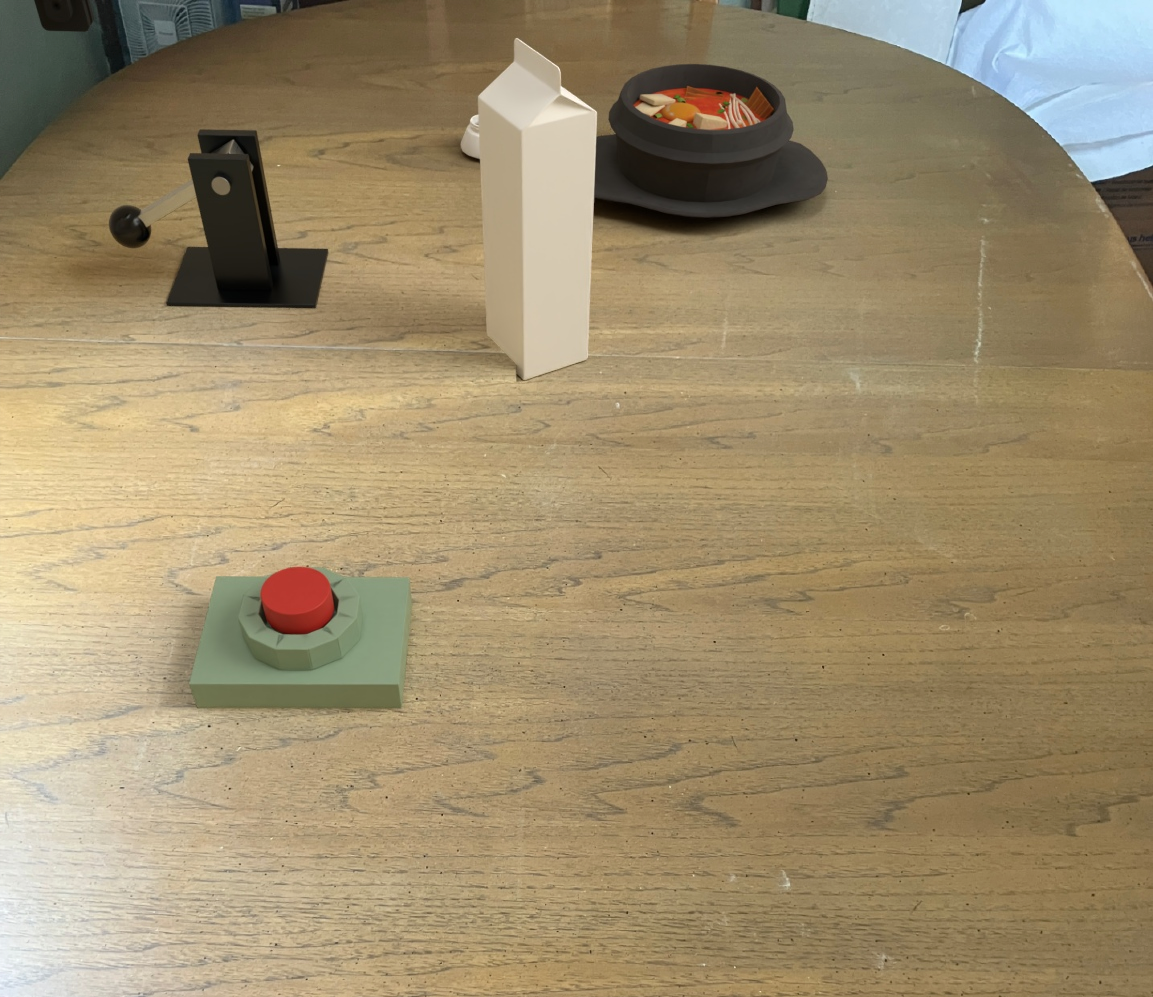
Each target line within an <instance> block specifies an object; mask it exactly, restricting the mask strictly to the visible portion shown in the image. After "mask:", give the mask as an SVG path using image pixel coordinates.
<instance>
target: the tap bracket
mask: <svg viewBox="0 0 1153 997" xmlns="http://www.w3.org/2000/svg"><path fill="white" fill-rule="evenodd" d="M196 136H197V140H198V145H199V149H200V152H190V153H189V155H188V157H187V162H188V166H189V171H190V176H191V179H192V180H193V185H194V189H195V193H196V198H195V199H196V203H197V206H198V210H199V215H200V220H201V222H202V223H201V224H202V227H203V228H202V229H203V232H204V236H205V241H206V245H207V246H186V249H185V252H184V255H183V257H182V259H181V262H180V264H179V267H178V270H177V272H176V275H175V277H174V281H173V283H172V286H171V289H170V291H169V294H168V296H167V299H166V302H165V305H166V307H184V308H185V307H187V308H199V307H200V308H253V309H254V308H256V309H261V308H263V309H267V308H268V309H317V305H318V301H319V296H320V291H321V287H322V284H323V278H324V274H325V270H326V265H327V260H328V256H329V248H314V247H313V248H311V247H310V248H309V247H307V248H306V247H279V246H278V240H277V235H276V229H275V223H274V219H273V218H274V217H273V213H272V208H271V202H270V196H269V190H268V186H267V179H266V175H265V168H264V164H263V158H262V152H261V147H260V141H259V136H258V131H257V130H256V129H255V130H252V129H208V128H207V129H206V128H205V129H203V128H200V129H199V130H198V132H197V135H196ZM231 140H235V142H236V143H237V145H238V146H239V147H240V149H241V150H242V151H243V153H244V154H216V153H212V152H214V151H215V150H217V149H218V148H220V147H222V146H223V145H225V144H227V143H228V142H230V141H231ZM250 162H251V164H252V165H253V170H251V165H250Z"/></svg>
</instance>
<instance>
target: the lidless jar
mask: <svg viewBox="0 0 1153 997" xmlns="http://www.w3.org/2000/svg"><path fill="white" fill-rule="evenodd" d="M460 150H461V151H462V152H463V153H464V154H466V155H467V156H469V157H471V158H475V159H477V160H480V144H479V118H478V114H475V115H473V116H471V118H470V120H469V124H468V125H467V126H466V129H465V131H464V134H463V136H462V138H461V141H460Z"/></svg>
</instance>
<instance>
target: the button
mask: <svg viewBox="0 0 1153 997" xmlns="http://www.w3.org/2000/svg"><path fill="white" fill-rule="evenodd" d="M290 567H291V566H290ZM308 567H309V566H292V567H291V568H289V567H287V568H283V569H281V570H278V571H276V573H275V572H273V573H274V574H273V575H271V576H270V577H269V578H268V579H267V580H266V581H265V582H264V584H263V586H262V588H261V593H260V596H261V601H262V604H263V608H264V612H265V616H266V620H267V622H268V623H269V625H270V626H271V627H272V628H274V629H275V630H277V631H278V632H281V633H284V634H288V635H304V634H308V633H311V632H314V631H316V630H319V629H320V628H322V627H323V626H325V625H326V624H327V623H328V622H329V621H330V619H331V618H332V615H333V613H334V602H333V597H332V592H331V587H330V583H329V581H328V579H327V578H326V576H325V575H324V574H322V573H321V572H319V571H317V570H315V569H312V568H308Z"/></svg>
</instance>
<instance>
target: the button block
mask: <svg viewBox="0 0 1153 997" xmlns="http://www.w3.org/2000/svg"><path fill="white" fill-rule="evenodd" d="M307 567H308V568H312V569H315V570H317V571H319V572H321V573H322V574H324V575H325V576H326V578H327V579H328V581H329V583H330V587H331V592H332V597H333V602H334V613H333V615H332V618H331V619H330V621H329V622H328V623H327V624H326V625H325V626H323V627H322V628H320V629H319V630H316V631H314V632H311V633H308V634H304V635H288V634H284V633H281V632H278V631H277V630H275V629H274V628H272V627H271V626H270V625H269V623H268V622H267V620H266V616H265V612H264V608H263V604H262V601H261V596H260V593H261V588H262V586H263V584H264V582H265V581H266V580H267V579H268V578H269V577H270V576H271V575H273V574H274V573H276V572H277V571H276V572H273V573H269V574H267V575H264V576H263V575H261V576H259V575H258V576H257V575H256V576H255V575H254V576H253V575H251V576H250V575H248V576H247V575H246V576H245V575H239V576H237V575H235V576H234V575H233V576H232V575H216V576H215V580H214V584H213V588H212V592H211V596H210V600H209V604H208V606H207V611H206V615H205V619H204V622H203V626H202V631H201V635H200V639H199V643H198V646H197V651H196V654H195V658H194V662H193V666H192V670H191V673H190V678H189V682H188V686H189V688H190V691H191V694H192V698H193V700H194V703H195V705H196V708H197V709H403V702H404V692H405V681H406V672H407V659H408V651H409V640H410V630H411V619H412V610H413V597H412V596H413V595H412V588H411V579H410V577H409V576H344V575H342V574H339V573H337V572H335V571H332V570H330V569H327V568H326V567H321V566H307ZM288 568H291V566H289V567H288Z"/></svg>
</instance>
